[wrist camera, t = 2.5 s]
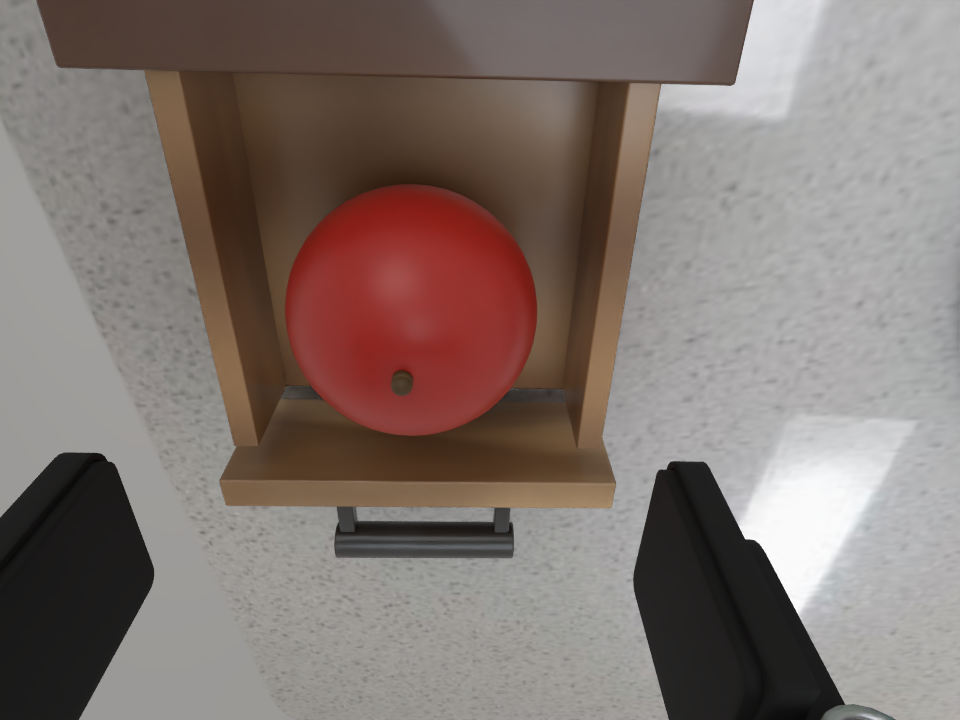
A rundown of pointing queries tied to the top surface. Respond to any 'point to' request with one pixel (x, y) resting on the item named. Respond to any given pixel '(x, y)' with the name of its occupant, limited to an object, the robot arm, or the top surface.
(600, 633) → the top surface
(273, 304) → the drawer
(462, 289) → the apple
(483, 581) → the top surface
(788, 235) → the top surface
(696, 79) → the cabinet
